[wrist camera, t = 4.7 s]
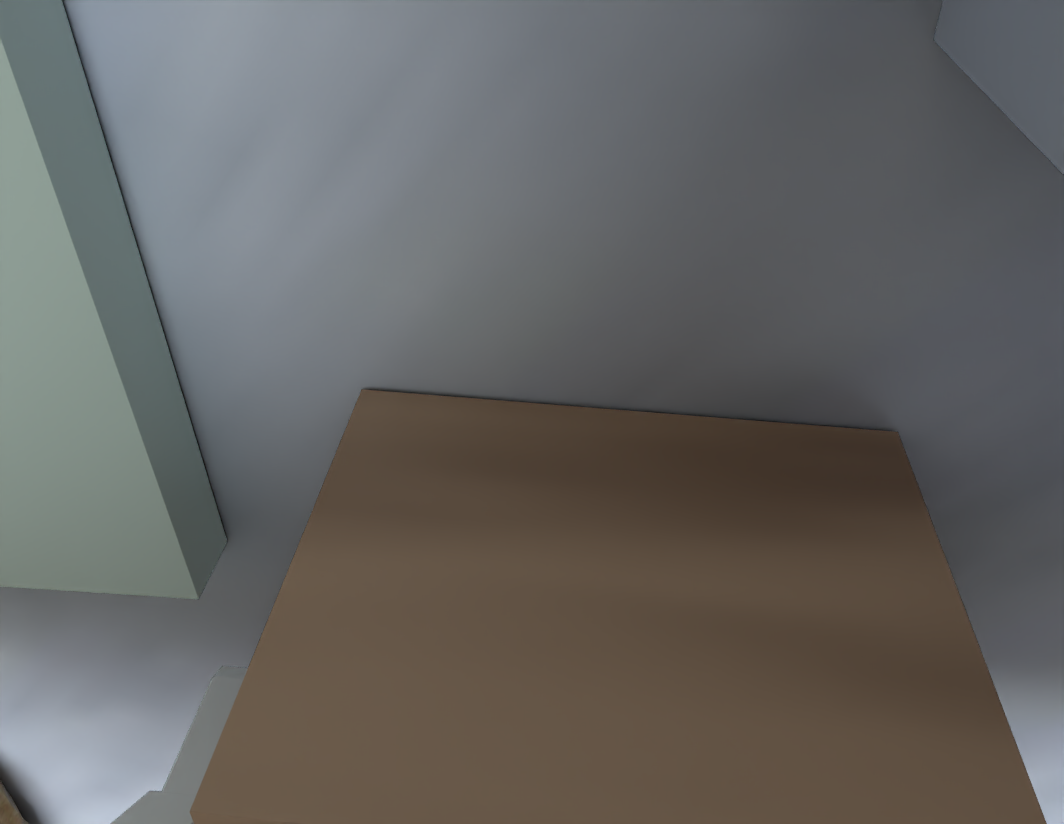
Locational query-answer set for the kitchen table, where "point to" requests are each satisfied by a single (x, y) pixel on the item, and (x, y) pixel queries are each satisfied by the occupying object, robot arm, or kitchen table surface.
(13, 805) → the bread roll
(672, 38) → the kitchen table surface
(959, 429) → the kitchen table surface
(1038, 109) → the grey block
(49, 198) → the mat
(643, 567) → the walnut block
